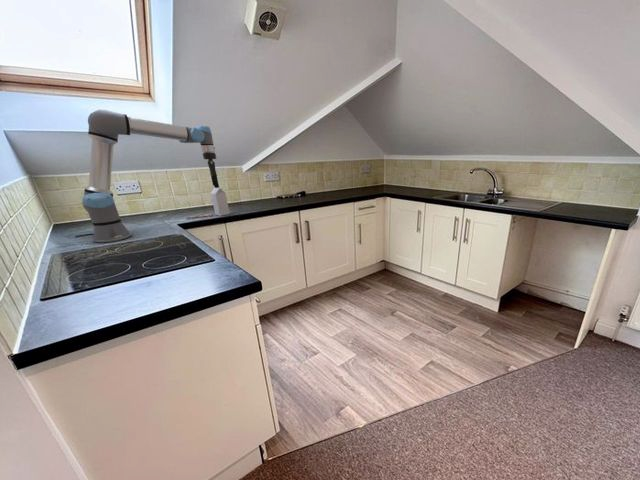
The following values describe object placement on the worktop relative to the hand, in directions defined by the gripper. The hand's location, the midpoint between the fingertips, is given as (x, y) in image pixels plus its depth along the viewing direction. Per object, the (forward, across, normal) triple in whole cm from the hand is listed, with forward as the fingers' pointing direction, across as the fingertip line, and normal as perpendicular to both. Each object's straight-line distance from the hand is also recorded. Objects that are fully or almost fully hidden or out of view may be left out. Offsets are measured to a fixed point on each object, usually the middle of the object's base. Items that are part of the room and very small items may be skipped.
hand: (216, 186), depth 201 cm
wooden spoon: (+19, 0, +14) cm, 24 cm away
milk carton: (+19, 0, 0) cm, 19 cm away
